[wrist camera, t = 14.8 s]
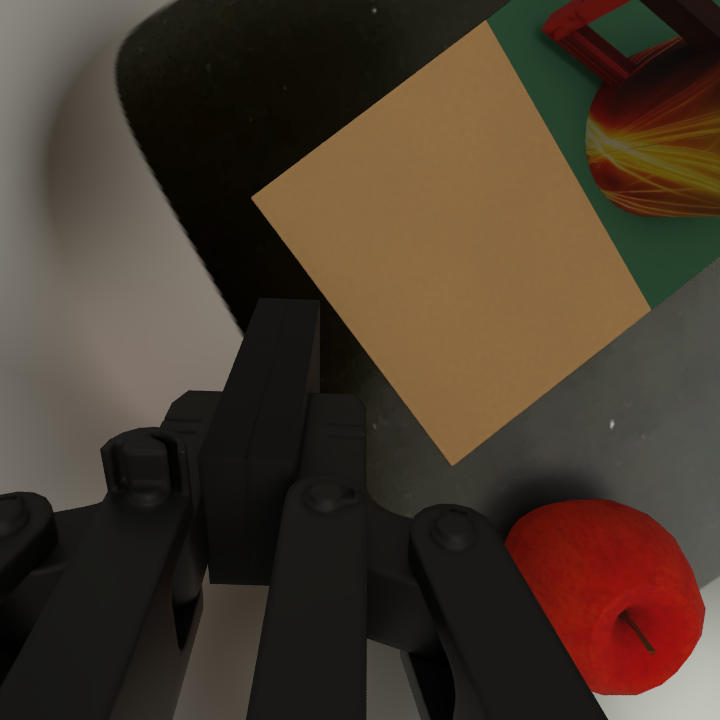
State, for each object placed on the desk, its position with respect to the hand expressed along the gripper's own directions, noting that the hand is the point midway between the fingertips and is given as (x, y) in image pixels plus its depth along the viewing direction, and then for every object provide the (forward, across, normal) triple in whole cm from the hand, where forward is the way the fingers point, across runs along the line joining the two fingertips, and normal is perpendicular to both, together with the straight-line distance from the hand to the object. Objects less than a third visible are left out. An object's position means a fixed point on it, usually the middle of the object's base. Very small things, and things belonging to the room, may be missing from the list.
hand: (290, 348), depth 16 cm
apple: (+18, +14, -22) cm, 32 cm away
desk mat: (+24, +14, 0) cm, 28 cm away
